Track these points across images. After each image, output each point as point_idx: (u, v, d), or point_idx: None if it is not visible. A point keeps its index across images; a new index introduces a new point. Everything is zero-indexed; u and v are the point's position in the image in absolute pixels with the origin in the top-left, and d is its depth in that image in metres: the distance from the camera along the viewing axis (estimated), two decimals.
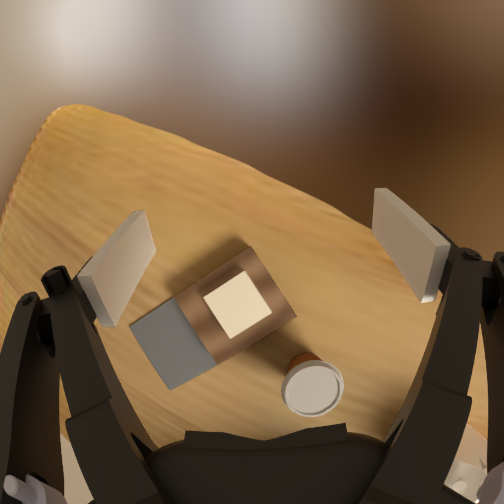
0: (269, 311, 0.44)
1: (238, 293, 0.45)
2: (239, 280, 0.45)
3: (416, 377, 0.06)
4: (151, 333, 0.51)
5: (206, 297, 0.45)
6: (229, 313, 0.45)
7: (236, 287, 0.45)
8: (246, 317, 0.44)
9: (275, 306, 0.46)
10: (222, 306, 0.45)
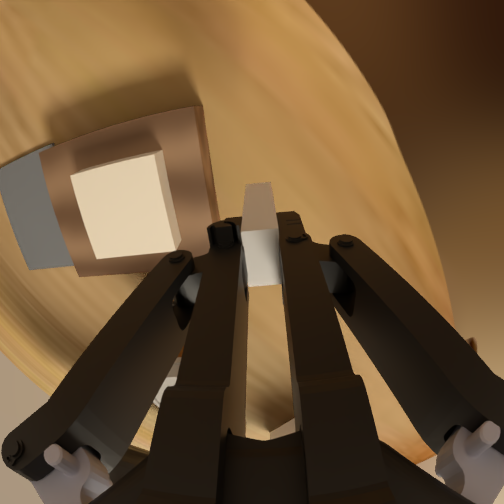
0: (172, 247, 0.22)
1: (128, 192, 0.20)
2: (138, 169, 0.19)
3: (291, 374, 0.07)
4: (15, 189, 0.25)
5: (74, 177, 0.19)
6: (104, 220, 0.21)
7: (127, 180, 0.20)
8: (129, 238, 0.22)
9: (190, 235, 0.24)
10: (95, 203, 0.20)
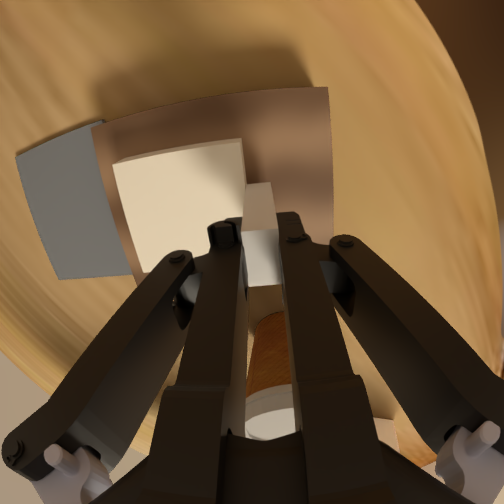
0: None
1: (197, 190, 0.16)
2: (214, 160, 0.15)
3: (291, 374, 0.07)
4: (44, 179, 0.21)
5: (119, 167, 0.15)
6: (158, 224, 0.17)
7: (198, 174, 0.16)
8: (193, 248, 0.18)
9: None
10: (148, 201, 0.17)
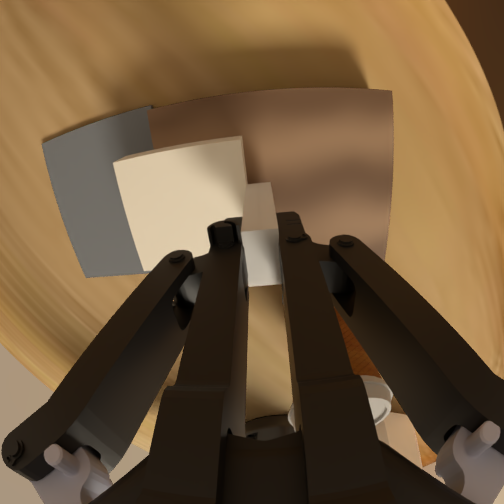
0: None
1: (198, 187, 0.16)
2: (215, 157, 0.15)
3: (291, 374, 0.07)
4: (76, 168, 0.21)
5: (119, 165, 0.15)
6: (159, 222, 0.17)
7: (199, 172, 0.16)
8: (194, 246, 0.18)
9: (363, 236, 0.20)
10: (148, 199, 0.17)
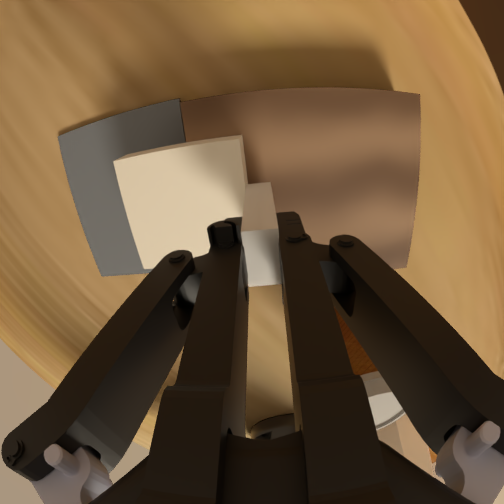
0: None
1: (197, 186, 0.16)
2: (214, 157, 0.15)
3: (291, 374, 0.07)
4: (96, 162, 0.21)
5: (120, 164, 0.16)
6: (158, 221, 0.17)
7: (198, 171, 0.16)
8: (193, 246, 0.18)
9: (390, 233, 0.20)
10: (148, 198, 0.17)
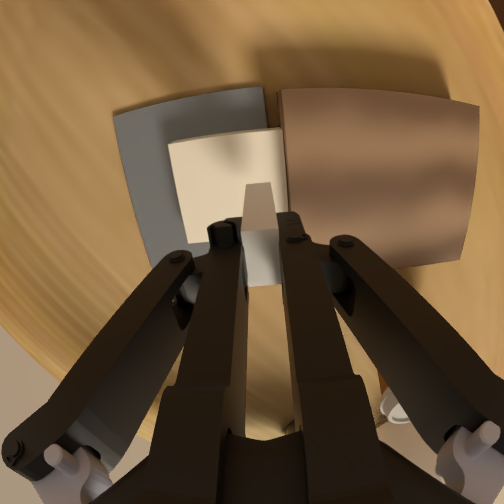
0: None
1: (245, 168, 0.19)
2: (261, 143, 0.18)
3: (291, 374, 0.07)
4: (161, 146, 0.20)
5: (174, 147, 0.18)
6: (207, 198, 0.20)
7: (246, 155, 0.19)
8: None
9: (451, 228, 0.19)
10: (199, 178, 0.20)
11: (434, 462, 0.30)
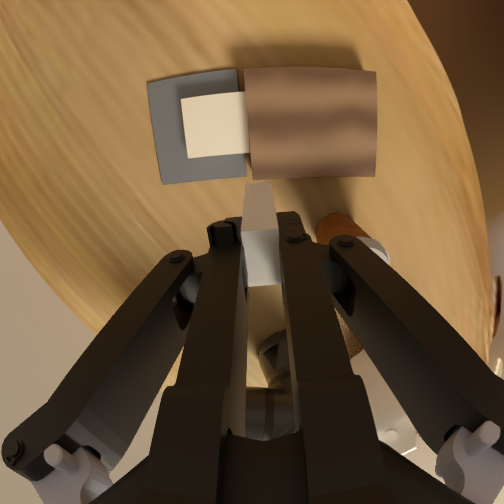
0: (247, 149, 0.34)
1: (224, 112, 0.32)
2: (233, 99, 0.31)
3: (291, 374, 0.07)
4: (175, 102, 0.32)
5: (184, 100, 0.31)
6: (201, 129, 0.33)
7: (224, 105, 0.31)
8: (218, 143, 0.34)
9: (361, 151, 0.32)
10: (197, 118, 0.32)
11: None
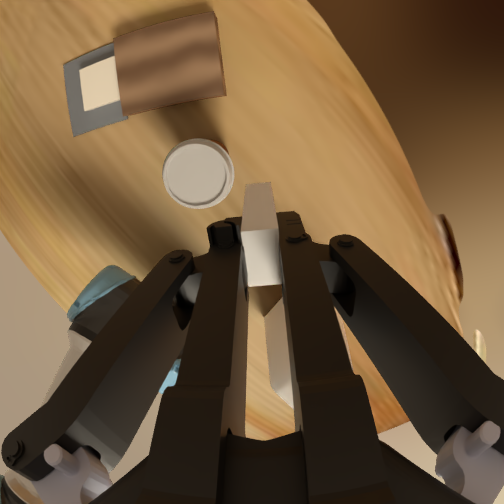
0: None
1: (105, 72, 0.34)
2: (110, 61, 0.33)
3: (291, 374, 0.07)
4: None
5: (81, 70, 0.33)
6: (92, 88, 0.35)
7: (105, 67, 0.33)
8: (102, 95, 0.36)
9: (206, 76, 0.34)
10: (89, 80, 0.34)
11: None
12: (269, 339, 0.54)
